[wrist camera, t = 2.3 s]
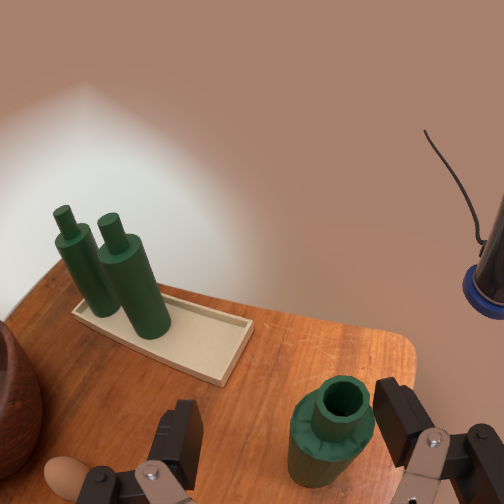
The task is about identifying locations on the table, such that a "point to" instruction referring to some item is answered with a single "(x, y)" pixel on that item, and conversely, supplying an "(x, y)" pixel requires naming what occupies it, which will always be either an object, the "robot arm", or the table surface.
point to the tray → (182, 338)
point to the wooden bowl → (17, 404)
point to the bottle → (329, 431)
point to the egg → (65, 476)
